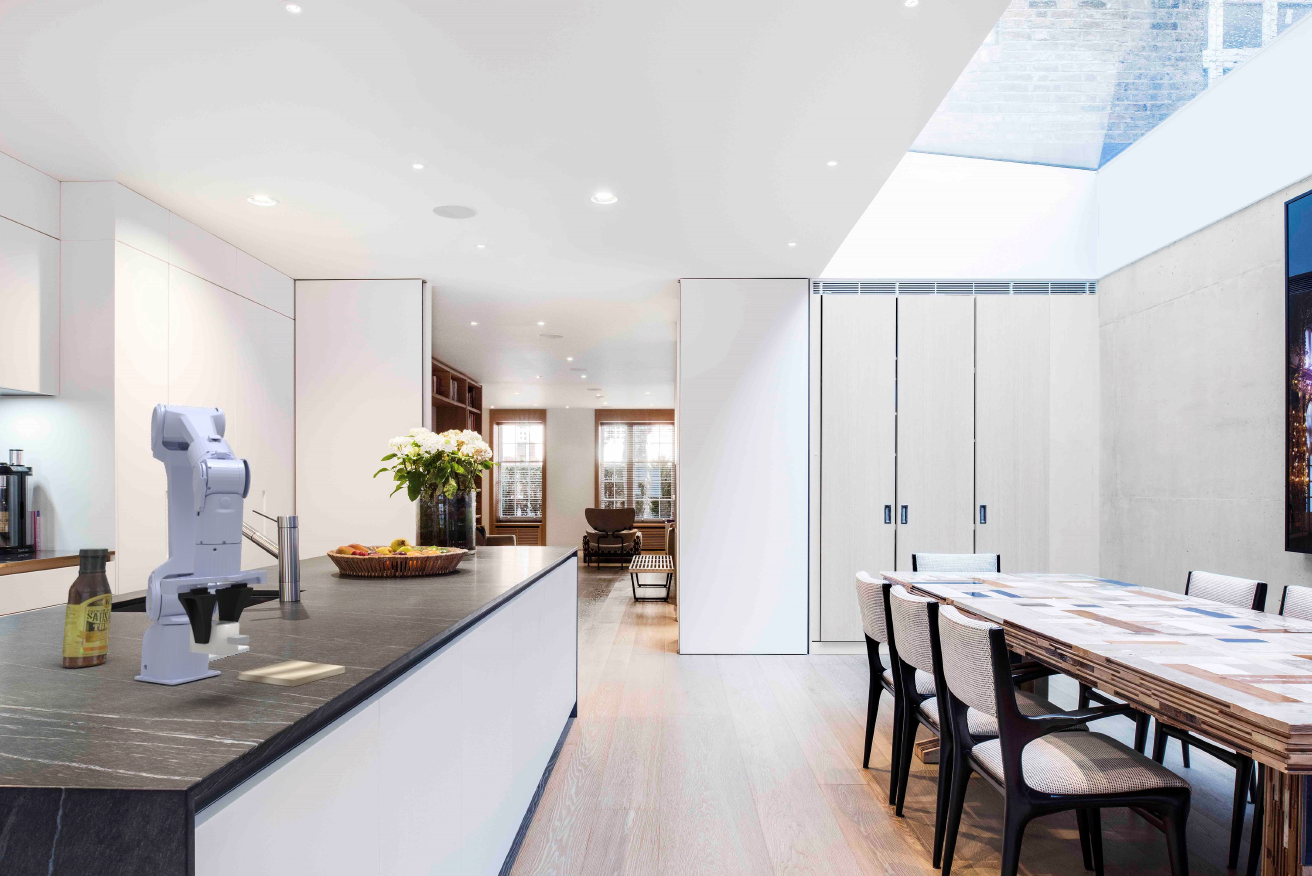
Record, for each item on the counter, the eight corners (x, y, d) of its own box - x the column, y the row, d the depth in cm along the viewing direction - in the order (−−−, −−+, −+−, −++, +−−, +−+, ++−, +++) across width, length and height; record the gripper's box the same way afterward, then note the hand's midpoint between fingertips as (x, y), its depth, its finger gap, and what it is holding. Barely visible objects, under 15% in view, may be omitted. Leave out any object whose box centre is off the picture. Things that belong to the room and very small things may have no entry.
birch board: (238, 679, 116) (238, 672, 116) (291, 666, 125) (292, 660, 125) (292, 686, 111) (293, 680, 112) (344, 672, 121) (345, 666, 121)
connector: (184, 651, 104) (185, 622, 104) (205, 647, 107) (206, 619, 107) (232, 657, 100) (234, 627, 100) (252, 653, 103) (254, 623, 103)
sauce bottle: (88, 669, 124) (95, 549, 125) (51, 669, 124) (59, 549, 125) (117, 660, 130) (123, 547, 132) (82, 660, 130) (89, 547, 132)
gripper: (187, 547, 97) (181, 653, 96) (282, 541, 110) (279, 634, 109) (152, 545, 100) (147, 648, 98) (250, 540, 113) (246, 631, 112)
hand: (214, 641), depth 104 cm, fingers closed on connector, 3 cm apart
